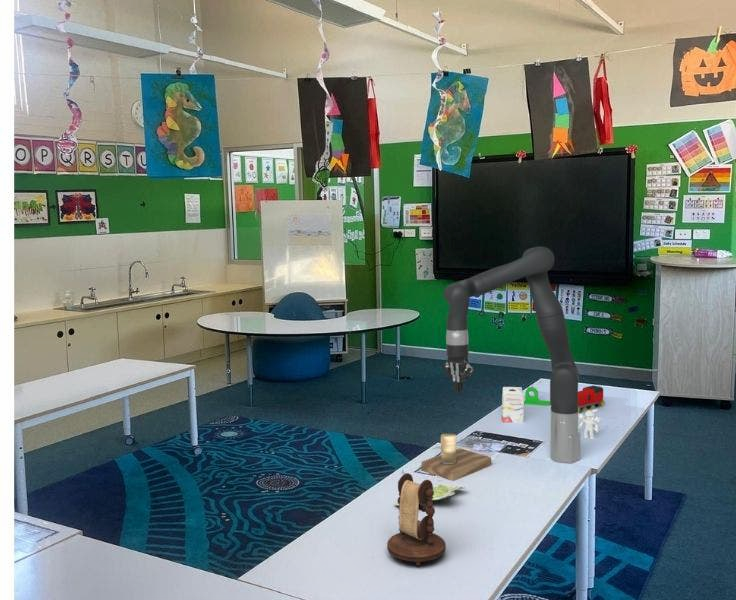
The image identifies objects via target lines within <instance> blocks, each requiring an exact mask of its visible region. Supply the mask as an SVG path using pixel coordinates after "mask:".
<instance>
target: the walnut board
mask: <svg viewBox="0 0 736 600" xmlns="http://www.w3.org/2000/svg"><path fill="white" fill-rule="evenodd" d="M456 460H457V463H456V464H454V465H450V466H449V465H445V464H442V463H441V454H440V455H436V456H433V457H431V458H427V459H426V460H425V459H424V460H423V461H421V465H420V467H421V471H422V472H425V473H429V474H432V475H434V476H437V477H440V478H442V479H446V480H449V481H451V482H453V481H456V480H460V479H461V478H465V477H467V476H469V475H471V474H474V473H476V472H479V471H481V470H484V469H487V468H489V467H491V466H492V457H491V456H488V455H484V454H481V453H477V452H475V451H472V450H467V449H464V448H461V447H459V448H456Z"/></svg>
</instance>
